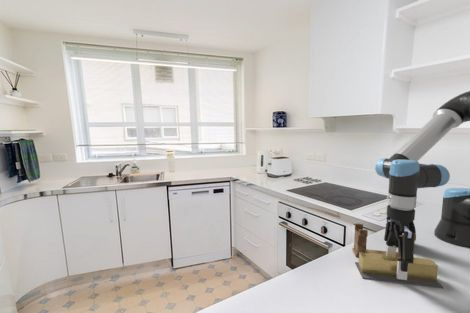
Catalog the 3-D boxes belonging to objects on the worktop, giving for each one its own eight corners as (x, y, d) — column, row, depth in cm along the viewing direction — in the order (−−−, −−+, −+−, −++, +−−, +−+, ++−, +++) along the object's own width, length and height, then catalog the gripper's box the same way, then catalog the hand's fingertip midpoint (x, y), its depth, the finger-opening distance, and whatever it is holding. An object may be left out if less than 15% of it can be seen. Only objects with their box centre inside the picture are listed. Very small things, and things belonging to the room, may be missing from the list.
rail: (429, 273, 78) (430, 258, 77) (436, 281, 74) (438, 265, 73) (358, 266, 83) (359, 251, 82) (362, 272, 79) (362, 257, 78)
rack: (406, 254, 90) (409, 227, 89) (415, 263, 84) (418, 234, 83) (351, 249, 95) (353, 223, 93) (356, 257, 89) (357, 229, 87)
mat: (426, 270, 80) (426, 269, 80) (443, 288, 71) (443, 287, 71) (354, 263, 85) (355, 262, 85) (362, 278, 77) (362, 277, 76)
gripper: (376, 196, 86) (372, 253, 89) (403, 217, 66) (397, 289, 69) (399, 197, 84) (394, 255, 87) (433, 219, 65) (426, 293, 67)
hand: (395, 270), depth 78 cm, fingers open, 8 cm apart
